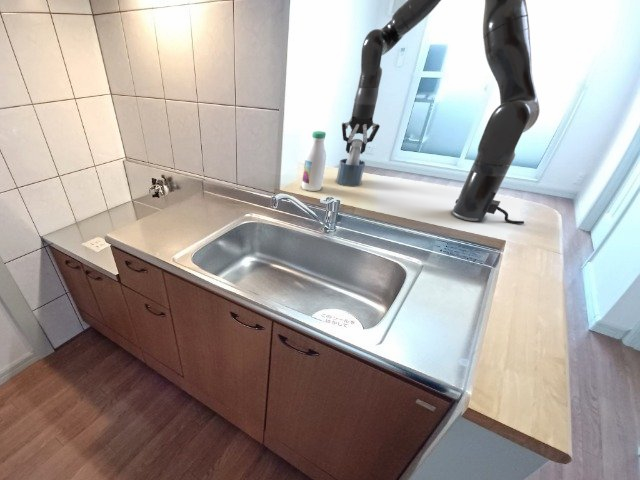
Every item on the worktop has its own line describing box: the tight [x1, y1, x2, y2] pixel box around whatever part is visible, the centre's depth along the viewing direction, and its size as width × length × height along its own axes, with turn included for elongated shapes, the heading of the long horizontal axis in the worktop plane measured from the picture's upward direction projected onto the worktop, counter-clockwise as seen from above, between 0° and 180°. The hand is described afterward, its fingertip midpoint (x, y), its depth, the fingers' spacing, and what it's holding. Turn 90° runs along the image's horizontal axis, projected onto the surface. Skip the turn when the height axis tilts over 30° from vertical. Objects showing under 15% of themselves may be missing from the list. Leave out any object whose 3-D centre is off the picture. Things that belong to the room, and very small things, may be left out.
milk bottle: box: [301, 130, 327, 192], centre depth 121 cm, size 8×8×20 cm
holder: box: [336, 158, 366, 187], centre depth 130 cm, size 10×10×8 cm
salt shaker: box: [346, 138, 363, 165], centre depth 127 cm, size 6×6×13 cm
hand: (354, 152), depth 126 cm, fingers closed on salt shaker, 4 cm apart
